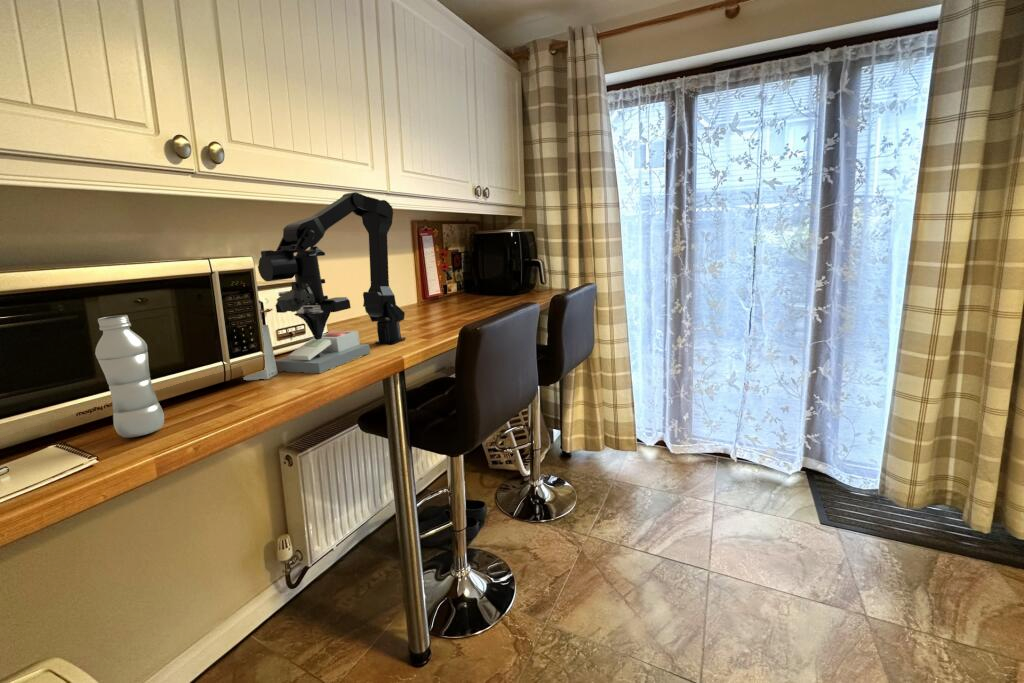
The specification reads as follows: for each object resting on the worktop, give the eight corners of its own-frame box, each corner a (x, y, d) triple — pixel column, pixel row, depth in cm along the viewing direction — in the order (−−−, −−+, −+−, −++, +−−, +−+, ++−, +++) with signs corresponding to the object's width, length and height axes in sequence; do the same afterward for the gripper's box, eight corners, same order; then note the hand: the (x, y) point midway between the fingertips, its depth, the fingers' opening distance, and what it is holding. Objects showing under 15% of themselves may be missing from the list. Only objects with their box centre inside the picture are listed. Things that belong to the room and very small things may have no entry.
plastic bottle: (115, 436, 79) (83, 319, 75) (164, 423, 84) (136, 312, 80) (120, 446, 75) (85, 322, 70) (171, 431, 79) (141, 314, 75)
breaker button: (336, 344, 127) (334, 331, 126) (351, 344, 125) (349, 331, 124) (323, 348, 122) (320, 335, 122) (338, 349, 120) (336, 336, 120)
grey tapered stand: (278, 374, 111) (269, 324, 108) (267, 379, 107) (257, 328, 104) (254, 375, 112) (244, 325, 109) (242, 381, 108) (232, 329, 105)
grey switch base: (329, 352, 130) (325, 330, 129) (370, 353, 125) (367, 331, 124) (275, 371, 114) (271, 346, 113) (320, 373, 109) (315, 348, 108)
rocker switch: (313, 343, 120) (311, 338, 119) (331, 343, 118) (329, 339, 117) (290, 359, 113) (288, 354, 113) (309, 360, 111) (307, 355, 110)
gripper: (251, 281, 110) (263, 346, 114) (312, 279, 103) (323, 348, 107) (289, 276, 120) (299, 336, 124) (347, 273, 113) (356, 337, 117)
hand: (318, 339), depth 117 cm, fingers closed
